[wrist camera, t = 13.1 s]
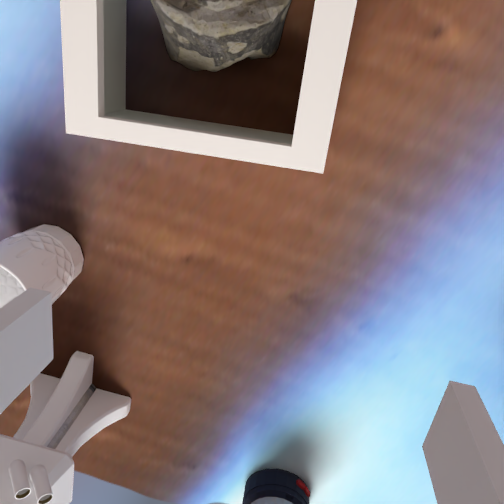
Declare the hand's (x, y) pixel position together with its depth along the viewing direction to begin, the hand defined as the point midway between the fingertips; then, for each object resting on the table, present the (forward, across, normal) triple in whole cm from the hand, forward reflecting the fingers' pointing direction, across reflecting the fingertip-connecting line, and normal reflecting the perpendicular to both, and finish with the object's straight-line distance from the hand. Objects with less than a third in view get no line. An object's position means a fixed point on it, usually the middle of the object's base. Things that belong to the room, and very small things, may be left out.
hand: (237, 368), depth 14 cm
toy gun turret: (+27, +21, +30) cm, 46 cm away
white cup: (+27, +23, +12) cm, 38 cm away
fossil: (+27, +8, -14) cm, 31 cm away
